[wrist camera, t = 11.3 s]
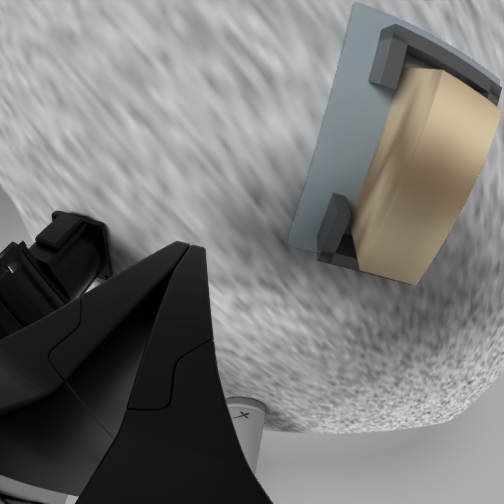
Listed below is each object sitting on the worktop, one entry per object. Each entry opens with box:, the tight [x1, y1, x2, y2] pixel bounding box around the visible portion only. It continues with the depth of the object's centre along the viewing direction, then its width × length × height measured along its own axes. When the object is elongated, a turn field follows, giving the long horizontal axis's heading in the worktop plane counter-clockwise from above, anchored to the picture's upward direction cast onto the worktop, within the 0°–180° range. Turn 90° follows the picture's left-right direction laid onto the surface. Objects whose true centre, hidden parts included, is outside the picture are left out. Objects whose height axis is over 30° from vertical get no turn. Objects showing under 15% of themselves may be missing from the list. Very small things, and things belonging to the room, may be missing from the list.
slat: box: [349, 68, 502, 286], centre depth 12 cm, size 10×4×5 cm, turn 169°
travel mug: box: [226, 397, 266, 475], centre depth 30 cm, size 6×7×20 cm
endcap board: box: [287, 2, 502, 285], centre depth 13 cm, size 16×10×4 cm, turn 169°
